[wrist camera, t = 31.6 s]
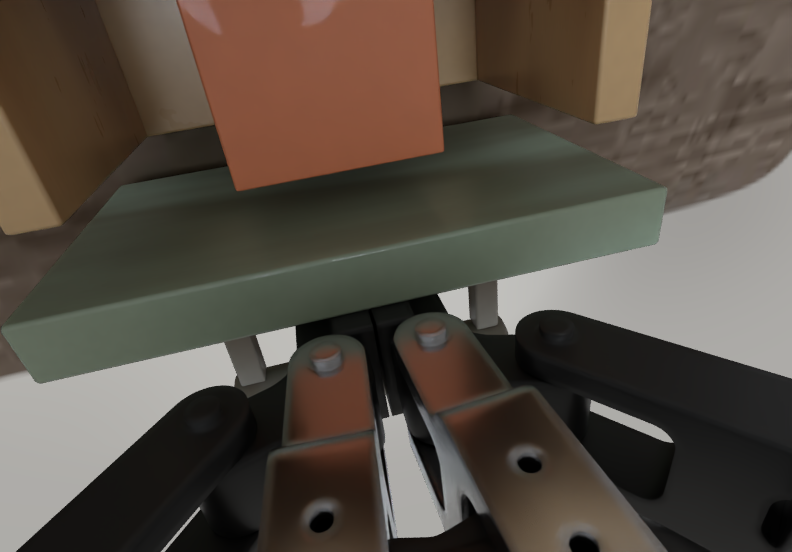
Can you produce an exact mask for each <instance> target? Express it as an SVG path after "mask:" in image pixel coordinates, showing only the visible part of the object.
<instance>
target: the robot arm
mask: <svg viewBox="0 0 792 552" xmlns="http://www.w3.org/2000/svg"><path fill="white" fill-rule="evenodd" d="M296 342H297V350H296V351H295V352H294V354H293V355H292V357H291V359H290V361H289V365H288V374H287V375H286V376H285V377H284V378H283V379H281V380H280V381H279V382H277V383H276V384H274V385H273V386H271V387H269V388H267V389H265V390H263V391H261V392H259V393H257V394H255V395H253V396H251V397H249V398H247V396H246V394H245V393H244V392H243V391H242V390H240V389H238V388H236V387H232V386H214V387H209V388H206V389H203V390H200V391H198V392H195V393H193V394H191V395H189V396H188V397H186V398H185V399H183V400H182V401H180V402H179V403H178V404H177V405H176V406H174V408H172V409H171V410H170V411H169V412H168V413H167V414H166V415H165V416H164V417H162V418H161V419H160V420H159V421H158V422H157V423H156V424H155V425H154V426H153V427H152V428H150V429H149V430H148V431H147V432H146V433H145V434H144V435H143V436H142V437H141V438H140V439H138V440H137V441H136V442H135V443H134V444H133V445H132V446H131V447H130V448H128V449H127V450H126V451H125V452H124V453H123V454H122V455H121V456H120V457H119V458H118V459H117V460H115V461H114V462H113V463H112V464H111V465H110V466H109V467H108V468H107V469H106V470H105V471H103V472H102V473H101V474H100V475H99V476H98V477H97V478H96V479H95V480H94V481H93V482H91V483H90V484H89V485H88V486H87V487H86V488H85V489H84V490H83V491H82V492H80V494H79V495H77V496H76V497H75V498H74V499H73V500H72V501H71V502H70V503H68V504H67V505H66V506H65V507H64V508H63V509H62V510H61V511H60V512H59V513H58V514H56V515H55V516H54V517H53V518H52V519H51V520H50V521H49V522H48V523H47V524H46V525H44V526H43V527H42V528H41V529H40V530H39V531H38V532H37V533H36V534H35V535H34V536H32V537H31V538H30V539H29V540H28V541H27V542H26V543H25V544H24V545H23V546H21V547H20V548H19V549H18V550H17V551H16V552H161V551H162V550H163V548H164V547H165V546H166V545H167V544H168V542H169V541H170V540H171V539H172V538H173V537H174V535H175V534H176V533H177V532H178V531H179V530H180V528H181V527H182V526H183V525H184V524H185V522H186V521H187V520H188V519H189V518H190V517H191V516H192V514H193V513H194V512H195V511H196V510H197V508H198V507H200V511H199V512H198V513H197V514H196V515H195V517H194V518H193V519H192V520H191V521H190V523H189V524H188V525H187V526H186V527H185V529H184V530H183V531H182V532H181V533H180V535H179V536H178V537H177V538H176V539H175V540H174V541H173V543H172V544H171V545H170V546H169V547H168V549H167V550H166V551H165V552H792V379H791V378H787V377H784V376H781V375H777V374H774V373H771V372H768V371H764V370H761V369H757V368H754V367H751V366H747V365H744V364H741V363H738V362H734V361H730V360H728V359H724V358H721V357H718V356H714V355H711V354H707V353H704V352H701V351H698V350H694V349H691V348H688V347H684V346H681V345H677V344H674V343H671V342H668V341H664V340H661V339H658V338H654V337H651V336H647V335H644V334H641V333H637V332H634V331H631V330H627V329H624V328H621V327H617V326H614V325H611V324H607V323H604V322H600V321H597V320H594V319H590V318H587V317H584V316H581V315H577V314H574V313H570V312H566V311H560V310H544V311H538V312H534V313H531V314H529V315H527V316H525V317H524V318H522V319H521V320H520V321H519V323H518V324H517V326H516V331H515V335H485V334H478V333H474V332H471V330H470V329H469V328H468V326H467V325H466V324H465V323H464V322H463V321H462V320H461V319H459V318H458V317H455V316H453V315H450V314H448V313H447V311H446V309H445V307H444V305H443V304H442V302H441V300H440V298H439V296H438V295H437V294H434V295H429V296H425V297H420V298H416V299H412V300H407V301H403V302H398V303H394V304H389V305H385V306H381V307H376V308H372V309H367V310H363V311H359V312H354V313H350V314H345V315H341V316H337V317H332V318H328V319H323V320H319V321H315V322H310V323H306V324H301V325H297V326H296ZM383 384H384V385H383ZM384 388H385V390H384ZM385 391H386V395H387V398H388V402H389V406H390V409H391V412H392V415H393V416H394V415H398V414H402V413H404V416H405V420H406V423H407V427H408V433H409V439H410V445H411V448H412V450H413V453H414V455H415V458H416V460H417V462H418V465H419V467H420V470H421V472H422V475H423V477H424V480H425V482H426V485H427V487H428V489H429V492H430V494H431V497H432V499H433V502H434V504H435V507H436V509H437V511H438V514H439V517H440V519H441V521H442V524H443V527H444V530H445V532H443V533H442V534H439V535H437V536H434V537H420V538H397V530H396V524H395V517H394V510H393V505H392V504H393V503H392V496H391V490H390V483H389V477H388V469H387V462H386V456H385V450H384V443H385V433H384V428H383V422H382V419H383V418H387V417H389V412H388V407H387V402H386V396H385ZM591 400H593V401H596V402H598V403H601V404H603V405H606V406H608V407H611V408H613V409H616V410H618V411H621V412H623V413H626V414H628V415H631V416H633V417H636V418H638V419H641V420H643V421H646V422H648V423H651V424H653V425H655V426H657V427H659V428H661V429H662V430H663V431H665V432H666V433H667V434H668V435H669V436H670V437H671V439H672V440H673V442H674V443H669V442H664V441H661V440H659V439H656V438H654V437H652V436H649V435H647V434H644V433H642V432H640V431H637V430H635V429H632V428H630V427H627V426H625V425H623V424H620V423H618V422H615V421H613V420H610V419H608V418H606V417H603V416H601V415H598V414H596V413H594V412H591V411H590V404H591Z"/></svg>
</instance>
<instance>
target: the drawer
mask: <svg viewBox="0 0 792 552" xmlns="http://www.w3.org/2000/svg"><path fill="white" fill-rule="evenodd" d="M651 5H652V0H434V13H435V27H436V41H437V54H438V68H439V82H440V87H441V86H447V85H452V84H458V83H464V82H470V81H476V80H479V81H482V82H484V83H487V84H490V85H492V86H495V87H497V88H500V89H503V90H505V91H508V92H511V93H513V94H516V95H519V96H521V97H524V98H527V99H529V100H532V101H534V102H537V103H540V104H542V105H545V106H548V107H550V108H553V109H556V110H558V111H561V112H564V113H566V114H569V115H571V116H574V117H577V118H579V119H582V120H585V121H587V122H590V123H593V124H596V125H597V124H602V123H607V122H612V121H618V120H623V119H628V118H633V117H635V116H636V115H637V110H638V103H639V95H640V88H641V80H642V73H643V65H644V58H645V50H646V43H647V35H648V28H649V20H650V13H651ZM214 125H215V123H214V120H213V117H212V114H211V110H210V107H209V104H208V101H207V98H206V95H205V91H204V88H203V85H202V82H201V79H200V75H199V72H198V69H197V66H196V63H195V60H194V56H193V53H192V50H191V47H190V44H189V41H188V37H187V34H186V31H185V28H184V25H183V21H182V18H181V15H180V12H179V9H178V6H177V2H176V0H0V226H1V228H2V230H3V231H4V233H5V234H6V235H16V234H21V233H27V232H32V231H37V230H42V229H48V228H53V227H58V226H61V225H63V224H64V223H65V222H66V221H67V220H68V219H69V218H70V217H71V216H72V215H73V213H74V212H75V211H76V210H77V209H78V208H79V207H80V206H81V205H82V204H83V203H84V202H85V201H86V200H87V199H88V198H89V197H90V196H91V195H92V194H93V193H94V192H95V191H96V190H97V189H98V187H99V186H100V185H101V184H102V183H103V182H104V181H105V180H106V179H107V178H108V177H109V176H110V175H111V174H112V173H113V172H114V171H115V170H116V169H117V168H118V167H119V166H120V165H121V164H122V163H123V161H124V160H125V159H126V158H127V157H128V156H129V155H130V154H131V153H132V152H133V151H134V150H135V149H136V148H137V147H138V146H139V145H140V144H141V143H142V142H143V141H144V140H145V139H146V138H147V137H150V136H155V135H161V134H167V133H173V132H179V131H184V130H190V129H196V128H202V127H208V126H214ZM443 136H444V152H442V153H436V154H431V155H426V156H421V157H416V158H410V159H405V160H400V161H395V162H390V163H384V164H379V165H374V166H369V167H364V168H358V169H353V170H348V171H343V172H338V173H332V174H327V175H322V176H317V177H312V178H306V179H301V180H296V181H291V182H286V183H280V184H275V185H270V186H265V187H260V188H254V189H249V190H244V191H236V189H235V187H234V183H233V180H232V177H231V174H230V171H229V168H228V166H226V167H221V168H215V169H210V170H204V171H199V172H193V173H188V174H183V175H177V176H172V177H166V178H161V179H155V180H150V181H144V182H139V183H133V184H128V185H122V186H120V187H119V189H118V190H117V191H116V192H115V193H114V194H113V196H112V197H111V198H110V199H109V200H108V201H107V203H106V204H105V205H104V206H103V207H102V209H101V210H100V211H99V212H98V213H97V214H96V216H95V217H94V218H93V219H92V220H91V222H90V223H89V224H88V225H87V226H86V227H85V229H84V230H83V231H82V232H81V233H80V235H79V236H78V237H77V238H76V239H75V240H74V242H73V243H72V244H71V245H70V246H69V247H68V249H67V250H66V251H65V252H64V253H63V255H62V256H61V257H60V258H59V259H58V260H57V262H56V263H55V264H54V265H53V266H52V268H51V269H50V270H49V271H48V272H47V273H46V275H45V276H44V277H43V278H42V279H41V281H40V282H39V283H38V284H37V285H36V286H35V288H34V289H33V290H32V291H31V292H30V293H29V295H28V296H27V297H26V298H25V299H24V301H23V302H22V303H21V304H20V305H19V306H18V308H17V309H16V310H15V311H14V312H13V314H12V315H11V316H10V317H9V318H8V319H7V321H6V322H5V323H4V324H3V325H2V327H1V333H2V334H3V336H4V337H5V339H6V340H7V341H8V343H9V344H10V346H11V347H12V349H13V350H14V352H15V353H16V354H17V356H18V357H19V359H20V360H21V362H22V363H23V365H24V366H25V367H26V369H27V370H28V372H29V373H30V375H31V376H32V377H33V379H34V381H35V382H37V383H46V382H50V381H54V380H59V379H63V378H67V377H72V376H76V375H81V374H85V373H89V372H94V371H99V370H103V369H107V368H112V367H116V366H121V365H125V364H129V363H133V362H138V361H143V360H146V359H151V358H156V357H160V356H165V355H169V354H173V353H178V352H182V351H186V350H191V349H195V348H200V347H204V346H209V345H213V344H217V343H222V342H224V343H225V345H226V348H227V350H228V353H229V355H230V358H231V360H232V363H233V365H234V368H235V371H236V373H237V376H236V379H235V387H236V388H238V389H240V390H242V391H243V392H244V393H245V394H246V396H247V398H249V397H251V396H253V395H255V394H257V393H259V392H261V391H263V390H265V389H267V388H269V387H271V386H273V385H274V384H276V383H277V382H279V381H280V380H281V379H283V378H284V377H285V376H286V375H287V374H288V365H289V362H287V363H283V364H279V365H275V366H271V367H266V364H265V361H264V358H263V356H262V352H261V350H260V347H259V344H258V341H257V338H256V335H257V334H261V333H266V332H270V331H275V330H279V329H283V328H288V327H292V326H297V325H301V324H306V323H310V322H315V321H319V320H323V319H328V318H332V317H337V316H341V315H345V314H350V313H354V312H359V311H363V310H367V309H372V308H376V307H381V306H385V305H389V304H394V303H398V302H403V301H407V300H412V299H416V298H420V297H425V296H429V295H434V294H438V293H442V292H447V291H451V290H456V289H460V288H464V287H468V292H469V311H470V320H466V321H463V322H464V323H465V324H466V325H467V326H468V328H469V329H470V330H471V332H474V333H478V334H485V335H508V332H507V329H506V327H505V325H504V323H503V321H502V319H501V318H500V317H499V316H498V303H497V280H499V279H504V278H508V277H513V276H517V275H521V274H526V273H531V272H535V271H539V270H543V269H548V268H552V267H557V266H561V265H566V264H570V263H574V262H579V261H583V260H588V259H592V258H597V257H601V256H605V255H610V254H614V253H618V252H623V251H628V250H632V249H636V248H641V247H645V246H650V245H653V244H656V243H657V242H658V240H659V235H660V229H661V223H662V217H663V212H664V207H665V201H666V196H667V188H666V187H665V186H663V185H661V184H659V183H657V182H655V181H652V180H650V179H648V178H646V177H644V176H642V175H640V174H638V173H635V172H633V171H631V170H629V169H627V168H625V167H623V166H620V165H618V164H616V163H614V162H612V161H610V160H608V159H606V158H603V157H601V156H599V155H597V154H595V153H593V152H591V151H589V150H586V149H584V148H582V147H580V146H578V145H576V144H574V143H572V142H569V141H567V140H565V139H563V138H561V137H559V136H557V135H554V134H552V133H550V132H548V131H546V130H544V129H542V128H540V127H537V126H535V125H533V124H531V123H529V122H527V121H525V120H523V119H520V118H518V117H516V116H514V115H506V116H500V117H495V118H489V119H484V120H478V121H473V122H467V123H462V124H456V125H451V126H445V127H443ZM383 385H384V384H383ZM384 390H385V388H384ZM385 395H386V391H385Z"/></svg>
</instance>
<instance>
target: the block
mask: <svg viewBox="0 0 792 552" xmlns="http://www.w3.org/2000/svg"><path fill="white" fill-rule="evenodd" d="M176 2H177V6H178V9H179V12H180V15H181V18H182V21H183V25H184V28H185V31H186V34H187V37H188V41H189V44H190V47H191V50H192V53H193V56H194V60H195V63H196V66H197V69H198V72H199V75H200V79H201V82H202V85H203V88H204V91H205V95H206V98H207V101H208V104H209V107H210V110H211V114H212V117H213V120H214V123H215V126H216V129H217V133H218V136H219V139H220V142H221V145H222V149H223V152H224V155H225V158H226V161H227V164H228V168H229V171H230V174H231V177H232V180H233V183H234V187H235V189H236V191H244V190H249V189H254V188H260V187H265V186H270V185H275V184H280V183H286V182H291V181H296V180H301V179H306V178H312V177H317V176H322V175H327V174H332V173H338V172H343V171H348V170H353V169H358V168H364V167H369V166H374V165H379V164H384V163H390V162H395V161H400V160H405V159H410V158H416V157H421V156H426V155H431V154H436V153H442V152H444V136H443V122H442V109H441V95H440V82H439V68H438V54H437V41H436V27H435V13H434V0H176Z"/></svg>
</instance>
